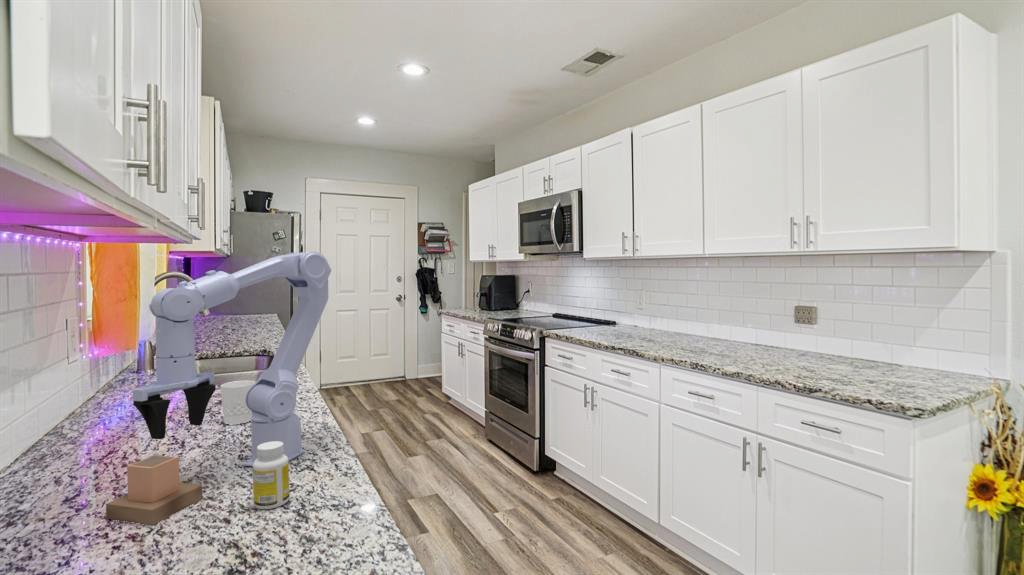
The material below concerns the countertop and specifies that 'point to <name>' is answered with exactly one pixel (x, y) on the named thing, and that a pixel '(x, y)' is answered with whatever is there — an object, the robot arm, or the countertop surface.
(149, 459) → the terracotta pot
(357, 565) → the countertop surface
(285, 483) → the supplement bottle
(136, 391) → the robot arm
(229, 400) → the white cup
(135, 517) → the walnut block
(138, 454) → the countertop surface
